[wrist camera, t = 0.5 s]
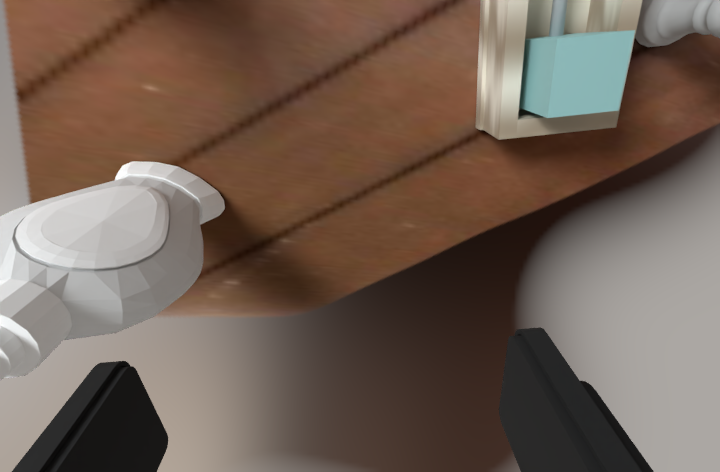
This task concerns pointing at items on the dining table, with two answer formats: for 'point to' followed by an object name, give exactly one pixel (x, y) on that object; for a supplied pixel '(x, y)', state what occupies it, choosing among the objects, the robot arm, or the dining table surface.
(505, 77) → the beige wooden open box
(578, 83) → the cube dumbbell
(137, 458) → the robot arm
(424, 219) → the dining table surface
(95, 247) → the soap bottle
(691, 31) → the rook chess piece
